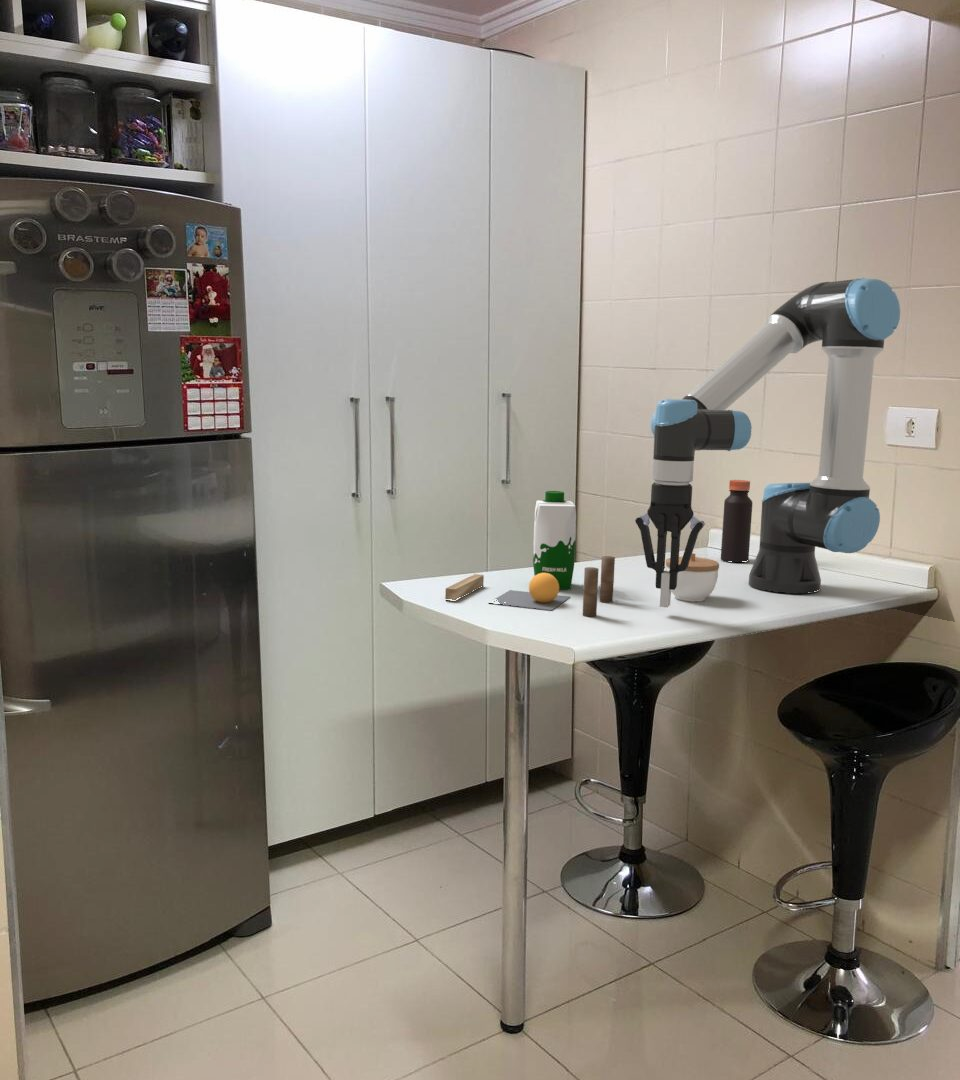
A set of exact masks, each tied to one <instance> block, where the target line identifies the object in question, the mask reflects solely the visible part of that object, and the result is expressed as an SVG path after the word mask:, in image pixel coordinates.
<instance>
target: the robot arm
mask: <svg viewBox="0 0 960 1080" xmlns="http://www.w3.org/2000/svg"><path fill="white" fill-rule="evenodd" d="M892 289H893V288H892V287H891V286H890V285H889V284H888V283H887V282H886V281H883V280H882V279H877V278H864V277H863V278H856V279H855V278H853V279H847V280H838V281H825V282H824V281H823V282H818V283H816V284H813V285H810V286H807V288H804V289H803V290H801V291H799V292H798V293H797V294H795V295H793V296H792V297H791V298H789V299H788V300H787V301H785V302H784V303H783V304H782V305H781V306H779V307H778V308H777V309H775V310H774V312H772V313H771V314H770V315H769V316H767V318H766V320H765V324H764V325H765V326H764V327H762V328H761V330H759V331H758V332H757V333H755V335H754V336H752V337H751V338H750V339H748V341H747V342H746V343H744V344H743V345H742V346H741V347H740V348H738V349H737V350H736V351H735V352H734V353H733V354H732V355H731V356H730V357H728V358H727V359H726V360H725V361H724V362H723V363H722V364H720V366H719V365H718V367H717V368H716V369H715V370H713V372H711V373H709V375H708V376H706V377H705V378H704V379H703V380H702V381H701V382H700V383H699V384H697V385H696V386H695V387H693V389H692V390H690V392H688V393H687V394H686V395H685V396H684V397H682V398H681V399H680V398H679V399H677V398H676V399H675V398H674V399H673V398H664V399H660V400H658V402H657V404H656V407H655V408H656V409H655V412H654V413H653V416H652V417H651V420H650V428H651V433H652V435H653V437H654V438H653V458H652V472H651V473H652V474H651V479H652V480H653V481H654V482H653V483H651V489H650V493H651V494H650V504H649V507H648V509H647V513H645V514H643V515H639V516H638V517H636V519H635V520H634V521H635V524H636V525H637V527H638V529H639V531H640V537H641V541H642V546H643V547H642V548H643V552H644V558H645V564H646V567H647V568H648V569H652V570H654V571H655V588H656V589H659V590H660V594H659V597H660V599H659V607H660V608H669V607H670V605H671V597H672V596H671V595H672V592H671V590H675V589H676V587H677V575H678V572H680V571H685V570H686V569H687V567H688V565H689V562H690V558H691V555H692V553H694V548H695V545H696V542H697V539H698V536H699V534H700V532H701V530H702V529H703V528H704V526H705V525H706V524H705V521H704V520H700V519H699V518H697V517H696V516H695V515H694V514H695V513H694V511H693V507H692V497H693V485H692V484H690V483H692V482H693V480H694V464H695V454H696V453H695V452H696V451H727V452H730V451H734V450H735V451H737V450H741V449H743V448H745V447H746V446H747V445H748V443H749V442H750V440H751V437H752V429H753V427H752V426H753V425H752V422H751V419H750V417H749V415H748V414H747V413H745V412H744V411H740V410H733V409H728V408H730V407H731V406H732V404H734V403H735V402H736V401H737V400H738V399H740V398H741V397H742V396H743V395H744V394H746V392H748V391H749V390H750V389H751V388H752V387H753V386H755V384H756V383H758V382H759V381H760V380H761V379H762V378H763V377H765V375H767V373H769V372H770V371H771V370H772V369H774V368H775V367H776V366H777V365H778V364H779V363H780V362H781V361H783V360H784V359H785V358H786V357H788V356H789V354H797V353H798V352H800V351H802V349H804V348H805V347H806V346H808V345H811V344H812V343H816V342H819V341H821V349H822V350H823V352H824V353H825V354H826V355H827V357H828V362H827V363H828V364H827V373H826V385H825V397H824V408H823V418H822V419H823V420H822V430H821V431H822V432H821V441H820V442H821V443H820V452H819V454H820V456H819V463H818V464H819V466H818V475H817V476H816V477H815V478H814V479H813V480H812V481H811V482H789V483H788V482H786V483H785V482H782V483H769V484H768V485H766V486H765V488H764V489H763V497H762V500H761V515H760V516H761V517H760V535H759V546H758V547H759V549H758V553H757V554H756V557H755V558H754V559H755V560H754V562H753V563H752V567H751V570H750V572H749V575H748V586H750V585H751V586H750V587H752V586H753V587H752V588H754V587H755V588H754V589H757V588H758V589H757V590H761V589H762V591H765V590H768V591H767V592H771V591H775V592H774V593H778V592H786V593H785V594H790V593H807V594H809V593H808V592H814V591H817V590H819V589H820V590H821V585H822V584H821V583H822V579H821V575H820V570H819V567H818V563H817V558H816V553H815V552H816V548H821V549H824V550H825V549H826V550H828V551H830V552H832V553H844V554H853V553H857V552H859V551H862V550H863V549H865V548H866V547H867V546H868V544H869V543H871V542H872V541H873V540H874V538H875V536H876V535H877V532H878V530H879V527H880V522H881V513H880V509H879V508H878V505H877V504H876V503H875V501H873V500H872V499H870V492H871V491H870V490H871V486H870V485H869V484H868V483H867V482H866V481H865V479H864V471H865V470H864V469H865V461H866V449H867V439H868V438H867V437H868V428H869V419H870V418H869V417H870V409H871V408H870V407H871V396H872V387H873V386H872V384H873V378H874V377H873V374H874V366H875V359H876V357H877V356H878V355H879V354H880V353H882V352H883V351H884V346H885V339H887V338H889V337H890V336H892V335H893V334H894V332H895V330H897V328H898V326H899V324H900V318H901V307H900V306H901V305H900V301H899V298H898V296H897V294H896V292H895V291H894V290H892ZM650 520H651V522H652V523H653V525H654V527H655V528H656V530H657V535H656V536H657V543H656V544H657V545H656V546H657V547H656V558H655V552H654V547H653V542H652V536H651V531H650V527H649V525H650ZM689 523H690V525H689V527H690V529H691V531H690V534H689V536H688V539H687V542H686V545H685V549H684V552H683V555H682V557H683V558H682V561H681V564H679V557H680V547H681V546H680V543H681V533H682V530H684V528H685V527H686V526H687V525H688V524H689ZM668 532H670V538H671V539H670V543H671V544H670V554H669V555H670V556H669V558H670V570H669V571H666V551H667V535H668Z"/></svg>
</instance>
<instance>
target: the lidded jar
mask: <svg viewBox="0 0 960 1080" xmlns="http://www.w3.org/2000/svg"><path fill="white" fill-rule="evenodd" d="M682 558H683V556H679V564H681V561H682ZM719 569H720V563H719V562H718V561H716V560H714V559H710V558H707V557H706V558H705V557H704V558H703V557H697V556H696V553H694V552H692V555H691V558H690V562H689V565H688V567H687V569H686V570H685V571H680V572H678V575H677V587H676V589H675V590H671V594H673V596H675V597H674V598H675V599H677V600H679V601H684V602H692V603H693V602H695V601H698V602H704V601H705V600H706V599H707V598H708V596H710V595H711V594H713V592H714V590H715V588H716V585H717V583H718V577H719V575H718V574H719ZM669 570H670V557H669V558H667V559H665V571H669ZM703 600H704V601H703Z"/></svg>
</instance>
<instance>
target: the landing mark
mask: <svg viewBox="0 0 960 1080" xmlns="http://www.w3.org/2000/svg"><path fill="white" fill-rule="evenodd" d="M568 598H569V599H570V598H571V596H570V595H569V596H568V595H559V594H558V595H557V597H556V598H555V599H554V600H552V601H551V602H548V603H540V602H537V601H536V600H534V599H533V598H532V596H531V595H530V592H529V591H524V590H523V591H521V590H513V589H509V590H507V591H505V592H504V593H502V594H501V595H499V596H497V597H496V598H495V599H497V600H498V602H499V603H500V604H504V605H511V606H510V607H513V606H519V607H518V608H521V607H526V608H525V609H530V608H536V609H535V610H539V609H543V610H542V611H548V610H552V611H553V609H554V608H555V609H556V608H558V607H559V606H560V605H561V603H562V604H564V601H565V602H567V600H569V599H568ZM497 600H496V601H497ZM494 602H495V601H494ZM504 602H506V603H504ZM504 605H503V606H504ZM557 606H558V607H557ZM555 609H554V610H555Z"/></svg>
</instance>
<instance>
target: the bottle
mask: <svg viewBox="0 0 960 1080" xmlns="http://www.w3.org/2000/svg"><path fill="white" fill-rule="evenodd" d="M728 484H729V486H728V491H729V492H730V493H729V495H728V496H727V497H726V498H725V499H724V501H723V502H724V503H723V515H722V518H723V520H722V534H721V549H720V560H721V561H722V560H724V561H723V562H725V561H732V562H742V561H747V560H748V561H749V560H750V558H749V557H750V545H751V543H750V542H751V530H752V515H753V513H752V512H753V500H752V499H751V498H750V497H749V493H750V490H751V489H750V488H751V481H750V480H745V479H730V480H729V483H728Z"/></svg>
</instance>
